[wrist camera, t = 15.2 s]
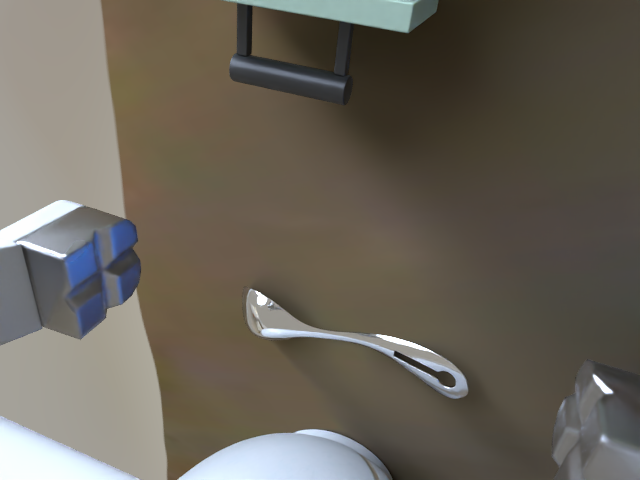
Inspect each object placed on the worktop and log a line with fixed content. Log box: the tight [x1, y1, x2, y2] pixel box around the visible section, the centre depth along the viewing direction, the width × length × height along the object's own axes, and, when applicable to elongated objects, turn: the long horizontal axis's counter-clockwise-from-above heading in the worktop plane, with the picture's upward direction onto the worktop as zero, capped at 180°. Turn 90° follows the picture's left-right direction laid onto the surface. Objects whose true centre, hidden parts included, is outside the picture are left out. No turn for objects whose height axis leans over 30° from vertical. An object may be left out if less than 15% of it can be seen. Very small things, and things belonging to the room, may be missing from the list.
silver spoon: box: [242, 286, 469, 399], centre depth 41 cm, size 20×4×5 cm
